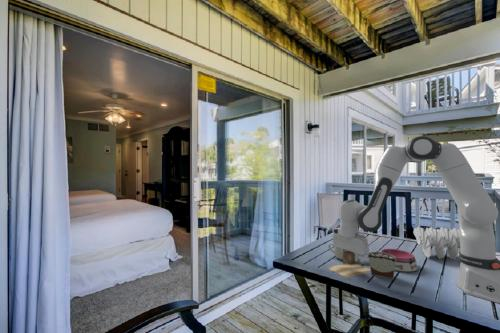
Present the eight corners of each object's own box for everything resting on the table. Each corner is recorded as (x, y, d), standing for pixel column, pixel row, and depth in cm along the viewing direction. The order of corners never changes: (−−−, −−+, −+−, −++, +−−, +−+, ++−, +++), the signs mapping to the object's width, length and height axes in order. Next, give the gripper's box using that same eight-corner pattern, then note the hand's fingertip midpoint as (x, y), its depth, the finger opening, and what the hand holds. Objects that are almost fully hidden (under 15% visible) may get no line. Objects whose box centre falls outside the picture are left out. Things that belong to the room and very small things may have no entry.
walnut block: (358, 263, 124) (357, 253, 124) (351, 264, 122) (350, 254, 122) (350, 260, 129) (349, 250, 129) (343, 261, 127) (342, 252, 127)
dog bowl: (390, 257, 143) (390, 245, 143) (425, 268, 127) (425, 254, 127) (370, 263, 134) (369, 250, 134) (405, 276, 118) (405, 261, 118)
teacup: (356, 258, 142) (356, 244, 142) (349, 263, 134) (349, 248, 134) (333, 252, 151) (333, 239, 151) (325, 257, 143) (325, 243, 143)
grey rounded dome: (376, 262, 134) (376, 260, 134) (368, 266, 129) (368, 264, 129) (361, 258, 141) (361, 256, 142) (352, 261, 136) (352, 259, 136)
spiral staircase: (473, 270, 133) (421, 264, 138) (456, 246, 148) (410, 242, 154) (484, 243, 125) (428, 238, 131) (465, 222, 140) (416, 218, 146)
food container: (397, 275, 118) (397, 254, 119) (397, 279, 113) (396, 258, 113) (369, 269, 125) (369, 250, 125) (367, 274, 120) (367, 253, 120)
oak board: (373, 272, 124) (373, 270, 124) (347, 279, 116) (347, 278, 116) (350, 263, 136) (350, 261, 136) (326, 269, 128) (326, 267, 128)
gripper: (371, 235, 118) (372, 264, 118) (338, 227, 136) (339, 252, 136) (362, 237, 115) (363, 266, 115) (330, 228, 133) (331, 254, 133)
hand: (350, 259), depth 125 cm, fingers closed on walnut block, 5 cm apart
